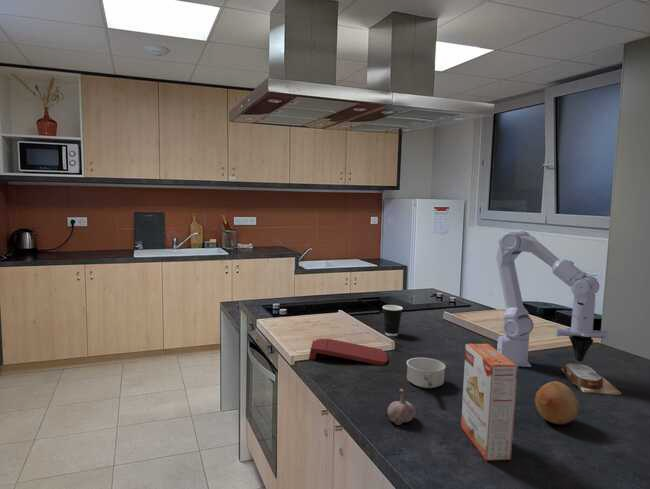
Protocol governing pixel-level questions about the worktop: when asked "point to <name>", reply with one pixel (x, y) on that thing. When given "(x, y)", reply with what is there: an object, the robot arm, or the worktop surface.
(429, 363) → the white ceramic ramekin
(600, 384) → the tin
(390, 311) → the dixie cup
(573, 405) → the onion
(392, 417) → the garlic bulb
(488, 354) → the cracker box
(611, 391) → the oak board
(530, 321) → the robot arm
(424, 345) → the worktop surface
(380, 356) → the red flat block
